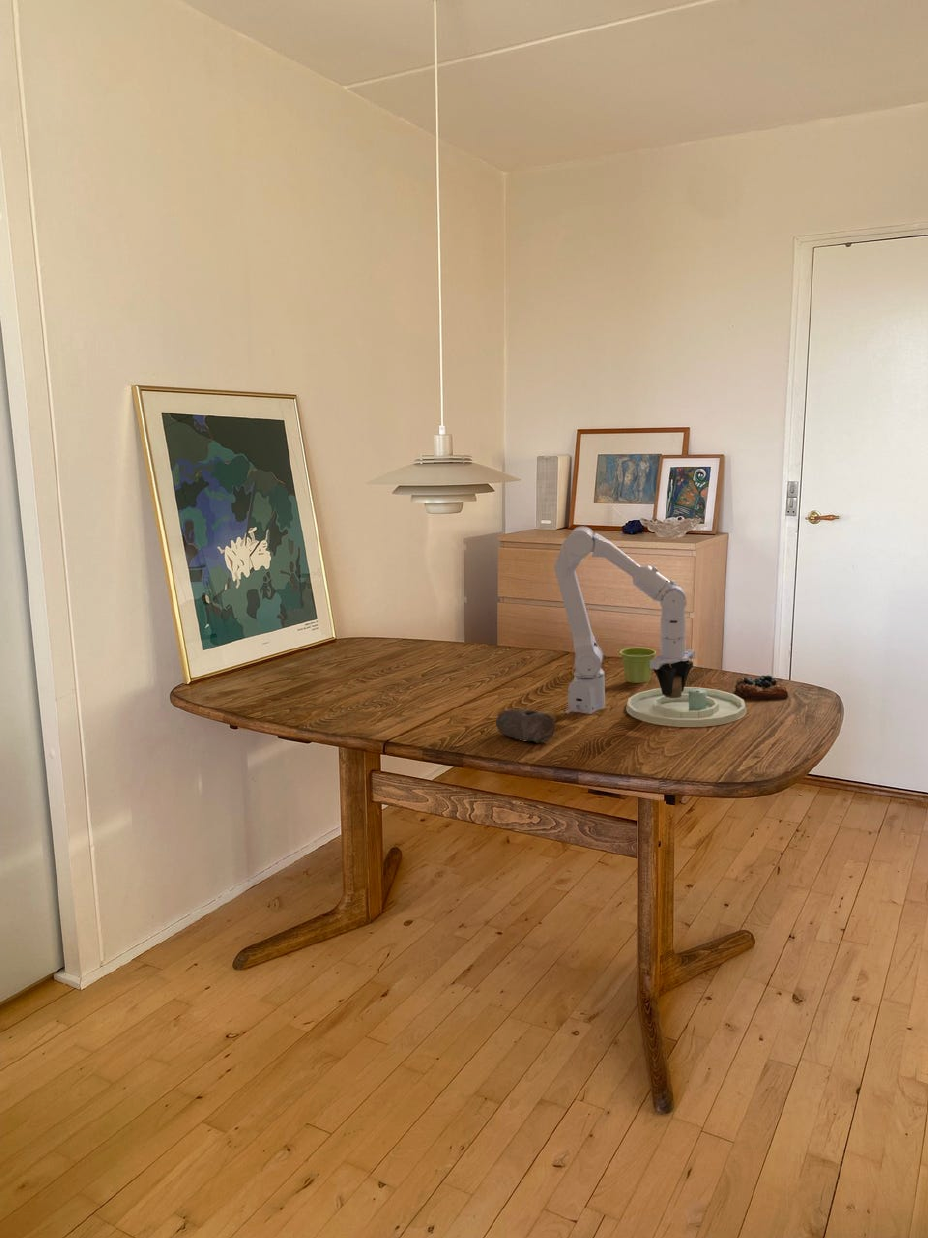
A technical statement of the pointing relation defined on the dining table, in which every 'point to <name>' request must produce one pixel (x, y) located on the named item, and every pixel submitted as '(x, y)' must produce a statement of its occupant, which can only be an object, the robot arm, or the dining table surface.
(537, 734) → the perforated stone tool
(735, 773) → the dining table surface
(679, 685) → the walnut bead
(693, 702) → the teal bead
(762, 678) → the pastry
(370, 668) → the dining table surface
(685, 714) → the groove tray
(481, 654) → the dining table surface
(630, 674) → the plant pot
